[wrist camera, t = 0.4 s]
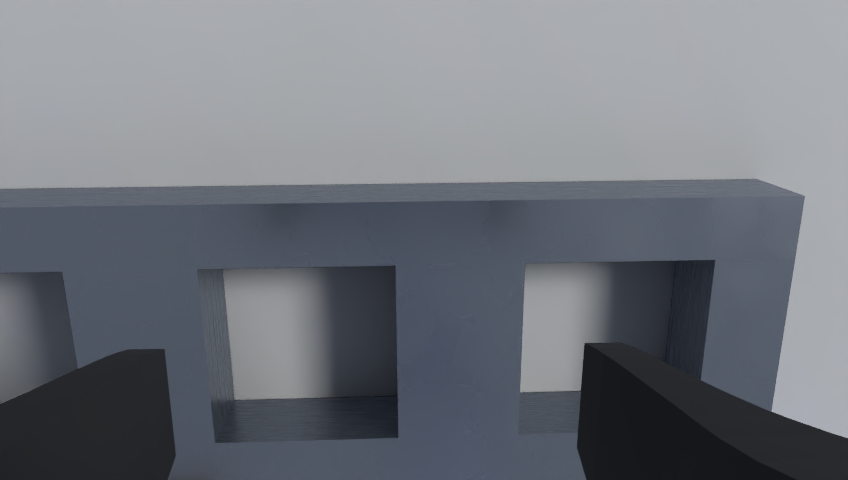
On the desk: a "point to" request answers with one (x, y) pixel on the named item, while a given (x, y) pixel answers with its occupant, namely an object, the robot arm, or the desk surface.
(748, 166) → the desk surface
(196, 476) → the grey square hole board
